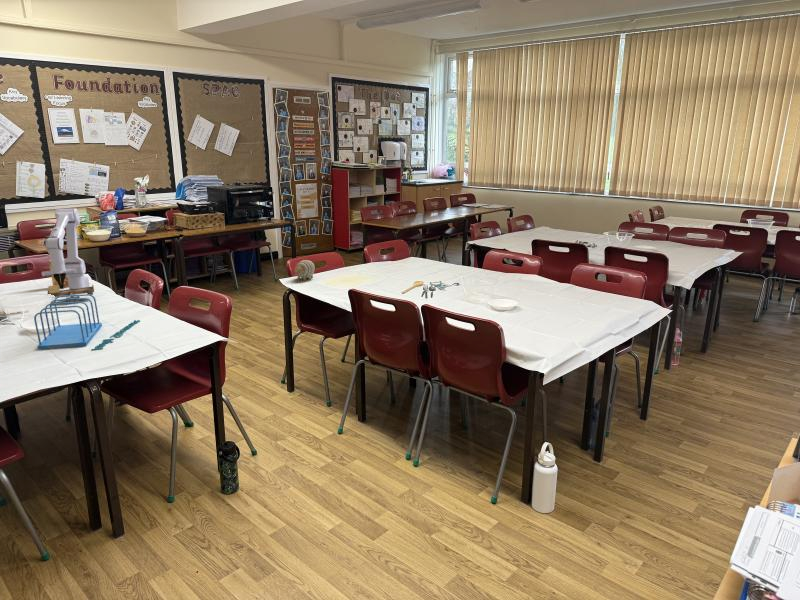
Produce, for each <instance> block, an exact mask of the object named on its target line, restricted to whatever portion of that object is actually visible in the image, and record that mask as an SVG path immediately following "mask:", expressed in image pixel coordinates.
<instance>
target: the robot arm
mask: <svg viewBox="0 0 800 600" xmlns="http://www.w3.org/2000/svg"><path fill="white" fill-rule="evenodd" d="M54 217H55V219H56V224H55V226H54V227H52V229H51V232H50V235H49V237H48V238H46V239H45V241H44V243H45V248H46V250H47V253H48V255H49V260H50V261H51V267H52V270H51V271H50V270H46V271H45V270H44V271H41V277H46V276H47V277H48V276H51V275H53V277H54V278H55V280H56V281H57V283H58V284H59V286H60V288H59V289H60V290H65V289H64V288H65V287H64V280H65V277H67V278H68V284H69V287H68V289H76V288H85V287H91V286H90V281H89V280H90V279H89V277H88V275H87V274H86V272H87V271H86V270H87V269H86V264H85V261H84V259H82V258H80V257H79V252H78V251H79V249H78V232H77V227H78V226H79V225H80V224H81V223H80V222H81V220H80V213H79V210H78V209H77V208H56V209H55V210H54ZM65 236H66V251H67V254H66V255H67V256H66V258H64V252H63V249H64V242H65V241H64V238H65ZM64 259H65V260H64ZM59 274H60V275H59ZM60 278H61V281H60Z"/></svg>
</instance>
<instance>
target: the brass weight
mask: <svg viewBox="0 0 800 600" xmlns="http://www.w3.org/2000/svg"><path fill="white" fill-rule="evenodd" d="M47 289H48V290H49V294H54V293H60V290H61V289H60V288H59V285H53V284H52V285H48V286H47ZM48 290H47V291H48Z"/></svg>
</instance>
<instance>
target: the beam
mask: <svg viewBox="0 0 800 600" xmlns="http://www.w3.org/2000/svg"><path fill="white" fill-rule="evenodd" d="M71 292H73V295H82V294H90V295H93V296H94V293H95V288H94V284H91V286H90V287H85V288H76V289H69V288H68V289H60V293H54V294H51V295H54V296H55V297H54V298H56V297H58V296H66V295H70V293H71ZM48 294H49V290H47V295H48Z"/></svg>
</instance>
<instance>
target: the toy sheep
mask: <svg viewBox="0 0 800 600" xmlns="http://www.w3.org/2000/svg"><path fill="white" fill-rule="evenodd" d="M315 267H316V266H315V263H313V261H311V260H307V259H305V260H304V259H302V260H301V261H299V262H298V263H296V266H295V269H294V270H295V273H296V275H297V281H300V278H302V279H303V281H307V279H309V278H311V279H313V278H314V273H315V270H316V268H315Z"/></svg>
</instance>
